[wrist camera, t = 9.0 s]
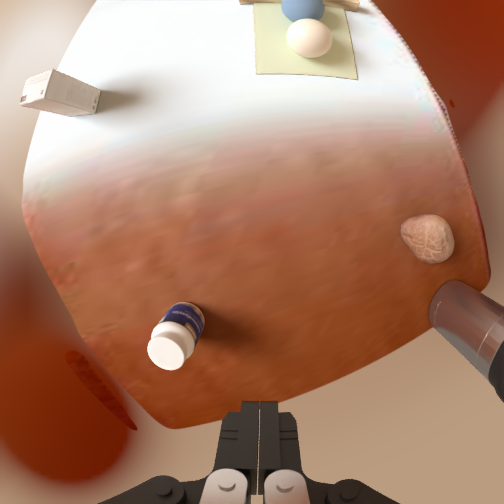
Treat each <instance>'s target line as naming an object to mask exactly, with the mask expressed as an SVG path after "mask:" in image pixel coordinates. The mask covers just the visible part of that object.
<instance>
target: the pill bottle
mask: <svg viewBox="0 0 504 504" xmlns="http://www.w3.org/2000/svg"><path fill="white" fill-rule="evenodd" d="M204 324H205V321H204V316H203V314H202V312H201V311H200V309H199V308H198V307H196V306H195V305H193V304H191V303H188V302H179V303H176V304H174V305H173V306H172V307H171V308H170V309H169V310H168V311H167V313H166V314H165V315H164V317H163V318H162V319H161V320H160V322H159V323H158V324H157V325H156V327H155V328H154V330H153V332H152V339H151V341H150V342H149V344H148V354H149V357H150V359H151V360H152V361H153V362H154V363H155V364H156V365H157V366H159V367H161V368H163V369H166V370H175V369H178V368H180V367H181V366H182V365H183V363H184V361H185V359H187V358H188V357H190V356H191V354H192V353H193V351H194V349H195V346H196V344H197V342H198V340H199V337H200V335H201V333H202V331H203V328H204Z"/></svg>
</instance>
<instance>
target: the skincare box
mask: <svg viewBox="0 0 504 504" xmlns="http://www.w3.org/2000/svg"><path fill="white" fill-rule="evenodd" d="M100 92H101V91H100V90H99V89H97V88H95V87H93V86H91V85H88V84H86V83H84V82H82V81H80V80H77V79H75V78H73V77H70V76H68V75H66V74H63V73H61V72H58V71H56V70H54V69H52V70H49V71H47V72H44V73H41V74H38V75H36V76H33V77H30V78H28V79H27V80H26V83H25V86H24V90H23V94H22V98H21V102H20V106H24V107H28V108H34V109H38V110H43V111H47V112H52V113H56V114H61V115H65V116H69V117H71V116H78V115H87V114H95V112H96V108H97V105H98V100H99V96H100Z"/></svg>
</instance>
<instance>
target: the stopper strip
mask: <svg viewBox="0 0 504 504" xmlns="http://www.w3.org/2000/svg"><path fill="white" fill-rule="evenodd" d="M239 1H240V4H253V3H282V0H239ZM322 1H323V3H324V6H327V7H334V8H341V9H344V10H349V11H355V12H356V10H357V8H358V6H359V4H360V3H359V0H322Z"/></svg>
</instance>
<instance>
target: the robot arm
mask: <svg viewBox="0 0 504 504" xmlns="http://www.w3.org/2000/svg"><path fill="white" fill-rule="evenodd" d="M429 321H430V323H431V325H432V326H433V327H434V328H435V329H436V330H437V331H438V332H439V333H440V334H441V335H442V336H443V337H444V338H445V339H446V340H447V341H449V343H450V344H452V345H453V346H454V347H455V348H456V349H457V350H458V351H459V352H460V353H461V354H462V355H463V356H464V357H465V358H466V359H467V360H468V361H469V362H470V363H471V364H472V365H473V366H474V367H475V368H476V369H477V370H478V371H479V372H480V373H481V374H482V375H483V376H484V377H485V378H486V379H487V380H488V381H489V382H490V383H491V385H492V386H493V387H494V388H495V390H496V393H497V395H498V396H499V398H500V399H501V400H502V401H503V402H504V306H502V305H500V304H499V303H497V302H495V301H494V300H492V299H490V298H489V297H487V296H485V295H484V294H482V293H480V292H478V291H477V290H475V289H473V288H472V287H470V286H468V285H466V284H465V283H463V282H461V281H458V280H452V281H449V282H447V283H445V284H444V285H443V286H442V287H441V288H440V289H439V290H438V291H437V292H436V294H435V296H434V297H433V300H432V302H431V305H430V308H429ZM258 437H259V401H242V403H241V412H228V414H227V415H226V416H225V417H224V419H223V420H222V425H221V431H220V436H219V442H218V448H217V453H216V459H215V464H214V469H213V470H212V472H211V473H210V474H209V475H208V476H206V477H205V478H203V479H200V480H196V481H188V482H179V481H178V480H177V479H175V478H173V477H170V476H156V477H153V478H151V479H149V480H147V481H145V482H144V483H142V484H140V485H138V486H136V487H134V488H132V489H130V490H128V491H126V492H123V493H121V494H119V495H117V496H115V497H112V498H110V499H108V500H106V501H103V502H101V503H98V504H251V495H256V492H257V490H256V489H257V467H258V466H257V465H258ZM258 476H259V477H258V495H263V504H399V503H397V502H396V501H394V500H392V499H390V498H388V497H386V496H384V495H382V494H381V493H379V492H377V491H375V490H374V489H372V488H370V487H369V486H367V485H365V484H364V483H362V482H360V481H358V480H354V479H345V480H341V481H339V482H337V483H335V484H327V483H320V482H316V481H313V480H311V479H309V478H308V477H307V476H306V475H305V474H304V473H303V471H302V468H301V459H300V449H299V441H298V432H297V423H296V420H295V418H294V417H293V415H292V414H291V413H290V412H282V413H278V401H261V404H260V440H259V475H258Z"/></svg>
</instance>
